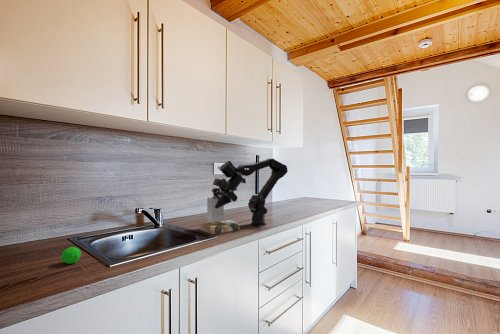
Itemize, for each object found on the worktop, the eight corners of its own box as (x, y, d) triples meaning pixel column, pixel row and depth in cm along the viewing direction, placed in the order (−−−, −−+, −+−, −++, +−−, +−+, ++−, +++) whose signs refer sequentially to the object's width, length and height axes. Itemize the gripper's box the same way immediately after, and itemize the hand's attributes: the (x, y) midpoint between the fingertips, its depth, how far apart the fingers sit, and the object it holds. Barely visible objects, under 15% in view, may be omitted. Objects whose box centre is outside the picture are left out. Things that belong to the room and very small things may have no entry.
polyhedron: (80, 263, 78) (81, 248, 78) (61, 267, 75) (61, 251, 75) (80, 259, 82) (80, 244, 82) (61, 262, 79) (62, 247, 79)
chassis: (226, 225, 134) (226, 219, 134) (240, 229, 124) (240, 223, 124) (198, 229, 123) (198, 223, 123) (212, 234, 113) (212, 227, 113)
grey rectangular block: (218, 218, 126) (218, 195, 126) (223, 220, 121) (223, 196, 121) (207, 220, 123) (207, 195, 123) (212, 222, 118) (212, 196, 118)
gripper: (214, 172, 132) (194, 194, 126) (231, 173, 116) (210, 198, 110) (227, 186, 136) (209, 208, 130) (246, 189, 121) (225, 214, 115)
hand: (212, 207), depth 121 cm, fingers closed on grey rectangular block, 6 cm apart
